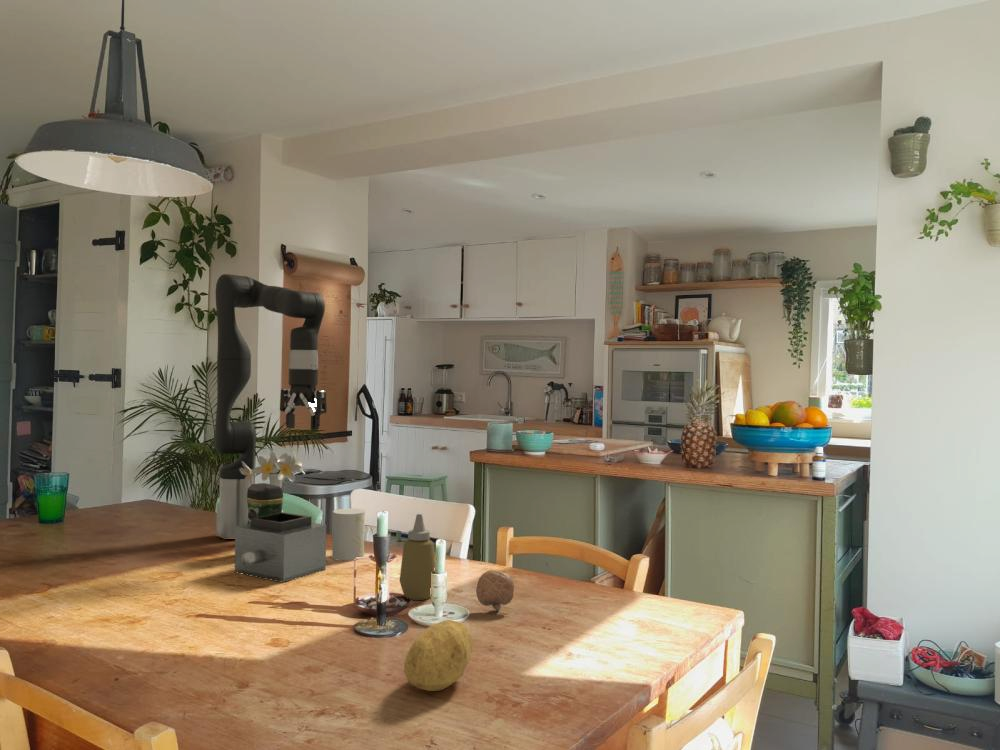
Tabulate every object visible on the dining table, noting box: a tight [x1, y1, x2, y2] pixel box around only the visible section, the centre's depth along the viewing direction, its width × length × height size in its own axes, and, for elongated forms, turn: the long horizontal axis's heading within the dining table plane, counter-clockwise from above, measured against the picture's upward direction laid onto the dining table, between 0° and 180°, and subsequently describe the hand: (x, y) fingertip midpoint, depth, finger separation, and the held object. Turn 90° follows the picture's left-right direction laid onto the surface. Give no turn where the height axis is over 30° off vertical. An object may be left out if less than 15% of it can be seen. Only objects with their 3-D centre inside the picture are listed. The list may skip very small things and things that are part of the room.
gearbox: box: [234, 511, 327, 583], centre depth 188 cm, size 16×18×13 cm
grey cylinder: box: [331, 507, 366, 561], centre depth 205 cm, size 8×8×12 cm
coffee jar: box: [247, 482, 284, 524], centre depth 207 cm, size 10×8×19 cm
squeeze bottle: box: [399, 513, 436, 601], centre depth 171 cm, size 8×8×18 cm
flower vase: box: [239, 451, 306, 512], centre depth 223 cm, size 13×18×25 cm
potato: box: [403, 619, 473, 692], centre depth 124 cm, size 10×14×10 cm
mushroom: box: [475, 569, 515, 612], centre depth 162 cm, size 8×6×8 cm
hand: (302, 429), depth 207 cm, fingers open, 8 cm apart
